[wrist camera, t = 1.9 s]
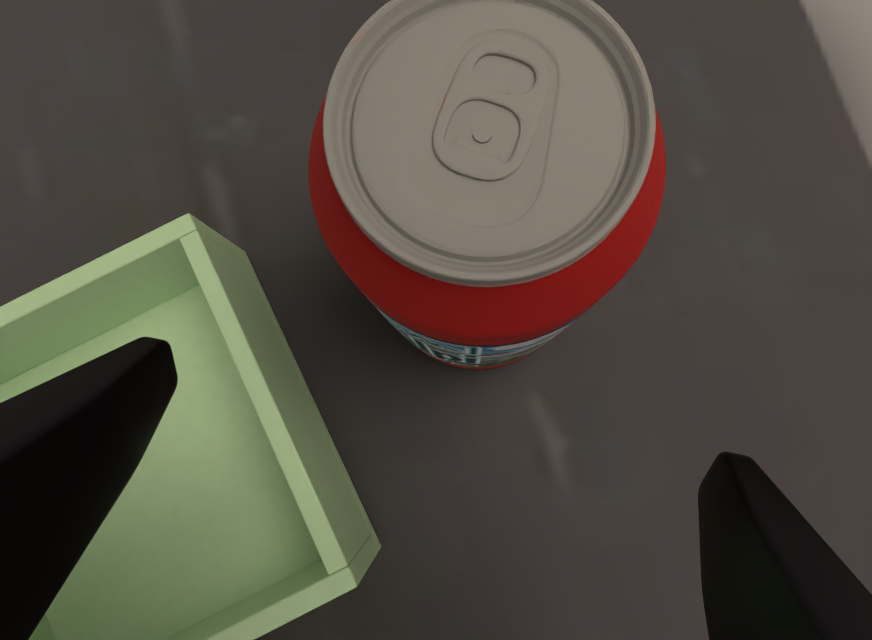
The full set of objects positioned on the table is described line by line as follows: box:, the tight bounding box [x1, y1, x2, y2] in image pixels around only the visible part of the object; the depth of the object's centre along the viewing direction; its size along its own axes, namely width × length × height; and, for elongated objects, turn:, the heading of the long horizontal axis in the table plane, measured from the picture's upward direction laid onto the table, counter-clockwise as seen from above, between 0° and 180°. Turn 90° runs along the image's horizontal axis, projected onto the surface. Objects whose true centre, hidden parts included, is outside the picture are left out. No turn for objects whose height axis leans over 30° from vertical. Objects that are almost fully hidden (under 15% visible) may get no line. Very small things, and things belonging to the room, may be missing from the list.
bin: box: [0, 213, 381, 640], centre depth 19 cm, size 12×12×4 cm
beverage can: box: [309, 0, 666, 369], centre depth 15 cm, size 7×7×12 cm
